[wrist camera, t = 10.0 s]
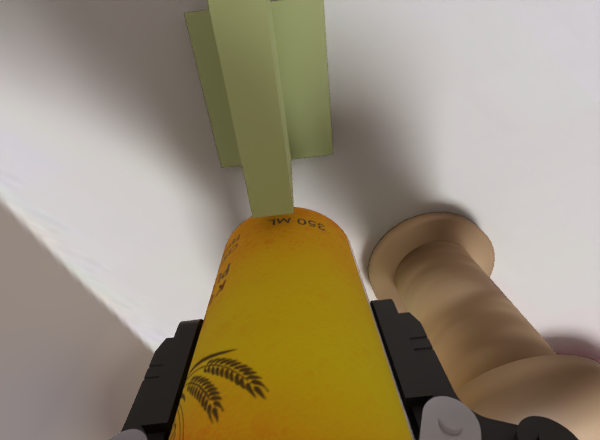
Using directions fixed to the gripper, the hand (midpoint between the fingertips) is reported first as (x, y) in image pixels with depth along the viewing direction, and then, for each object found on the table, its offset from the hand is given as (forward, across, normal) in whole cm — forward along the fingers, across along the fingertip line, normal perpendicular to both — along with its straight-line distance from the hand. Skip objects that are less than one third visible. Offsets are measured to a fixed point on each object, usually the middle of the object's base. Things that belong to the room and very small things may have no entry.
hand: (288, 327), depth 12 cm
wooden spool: (+9, -9, +5) cm, 14 cm away
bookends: (+9, 0, 0) cm, 9 cm away
